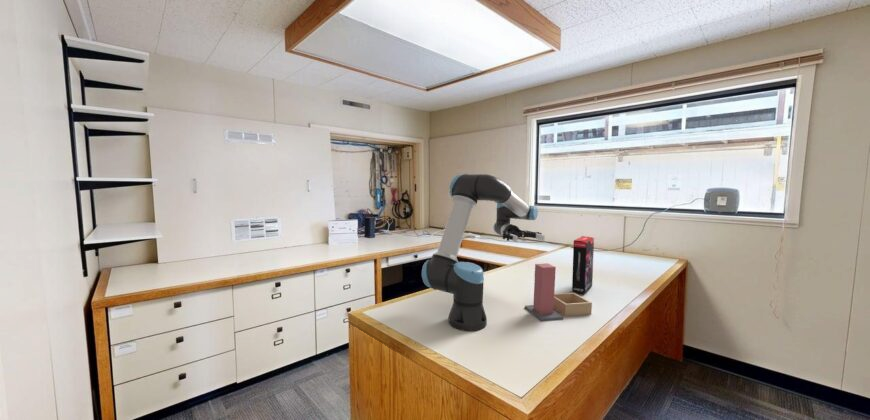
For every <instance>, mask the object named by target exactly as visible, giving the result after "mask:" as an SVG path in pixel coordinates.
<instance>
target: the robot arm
mask: <svg viewBox="0 0 870 420" xmlns="http://www.w3.org/2000/svg"><path fill="white" fill-rule="evenodd" d="M449 195H450V197H451V201H452V202H453V203H452V205H451V209H450V213H449V215H448V218H447V221H446V224H445V227H444V231H443V234H442V237H441V240H440V242H439V246H438V250H437V251H436V252H435V253H433V254H432V256H431V259H427V260H426V261H425V262H424V264H423V265H422V269H421V278H422V282H423V283H424V285H425V286H426V287H428V288H430V289H433V290H435V291H440V292H444V293H449V294H452V295H453V302H452V306H451V309H450V311H449V314H448V324H449V325H450V326H451V327H452V328H454V329H458V330H461V331H467V332H471V331H473V332H474V331H479V330H482V329H484V328H486V326H487V325H488V323H487V322H488V320H487V315H486V311H485V308H484V304H483V303H484V301H483V300H484V282H485V278H484V277H485V276H484V269H483V268H482V267H481V266H480V265H478V264H476V263H473V262H469V261H466V262H465V261H459V260H458V258H457V257H458V255H459V252H460V248H461V245H462V242H463V239H464V234H465V232H466V228H467V225H468V222H469V218H470V215H471V211H472V209H474V208H475V207H476V206H477V203H478V201H487V202H488V201H489V202H494V203H496V219H495V220H496V222H494V224H493V231H494V233H496V234H497V235H499V236H501V237H502V239H503V240H506V241H512V242H515V243H518V238H523V239H525V238H532V239H535V240H537V241H541V242H545V235H544V234H542V232H539V231H531V230H523V229H522V230H521V229H520V228H519V226H517V225H514V224H511V219H514V220H525V221H526V220H527V221H535V220H536V219H537V218H538V215H539V214H538V212H539V211H538V207H537V206H535V205H534V206H533V205H529V204H527V203H526V202H525V201H524V200H522V198H520V197H519V196H518V195H517V194H516V193H515V192H513V190H512V188H511V186H510V185H509V184H508V183H506V182H505V181H504V180H502V179H501V178H498V177H496V176H494V175H491V174H487V173H486V174H477V173H476V174H474V173H473V174H468V173H462V174H457V175H455V176H454V177H453V178H452V180H451V182H450V185H449Z"/></svg>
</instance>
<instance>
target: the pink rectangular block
mask: <svg viewBox="0 0 870 420" xmlns="http://www.w3.org/2000/svg"><path fill="white" fill-rule="evenodd" d="M556 268H557V267H556V266H554V265H552V264H550V263H535V266H534V283H533V284H534V285H533V286H534V288H533V304H532V305H533V309H534V310H536V311H537V312H538V313H539V314H551V313H553V311H555V309H554V294H555V289H556V288H555V286H556V270H557V269H556Z"/></svg>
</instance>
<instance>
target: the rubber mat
mask: <svg viewBox="0 0 870 420" xmlns="http://www.w3.org/2000/svg"><path fill="white" fill-rule="evenodd" d="M533 305H534V304H532V305H531V304H529V305H528V304H527V305H524V309H526V310H527V312H529V313H530V314H531V315H533V316H535V318H537V319H538V320H539V321H540V322H544V321H546V322H547V321H558V320H559V321H560V320H564V315H561V313H559V312H558V311H557V310H554V311H553V313H551V314H539V313H538V312H537V311H536V310H534V309H533Z"/></svg>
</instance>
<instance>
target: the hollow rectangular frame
mask: <svg viewBox="0 0 870 420" xmlns="http://www.w3.org/2000/svg"><path fill="white" fill-rule="evenodd" d="M592 307H593V302H591V301H590V300H588V299H586V298H584V297H582V296H581V295H579V294H578V293H575V292H565V293H554V310H555V311H556V312H557V313H559V314H560V315H561V314H562V316H563V317H570V316H581V315H592V309H593V308H592Z"/></svg>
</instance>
